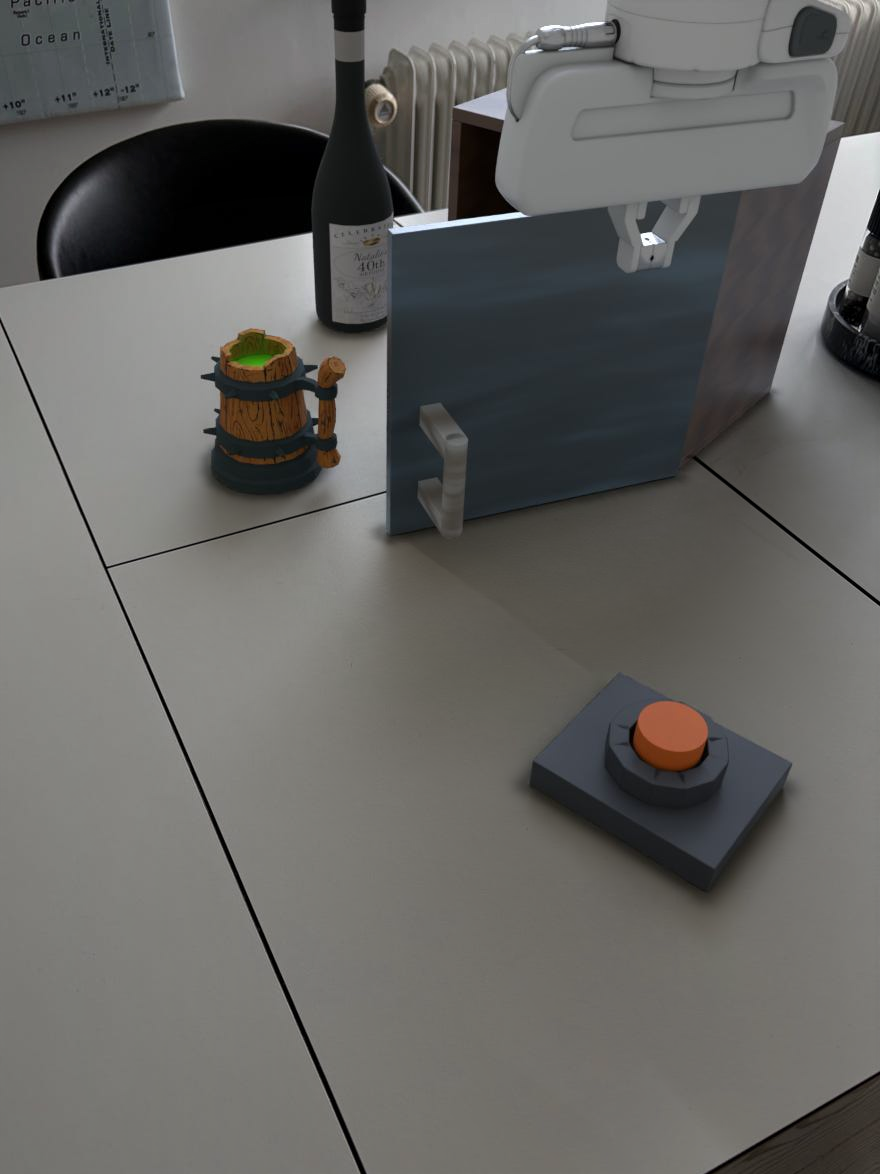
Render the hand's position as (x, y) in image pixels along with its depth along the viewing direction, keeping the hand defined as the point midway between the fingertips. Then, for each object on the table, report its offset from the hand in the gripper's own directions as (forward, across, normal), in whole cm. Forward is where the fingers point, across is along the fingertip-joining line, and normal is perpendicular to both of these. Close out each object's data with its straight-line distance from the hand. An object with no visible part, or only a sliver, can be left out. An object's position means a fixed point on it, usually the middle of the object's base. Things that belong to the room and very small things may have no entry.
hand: (642, 267), depth 65 cm
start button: (+19, -7, -22) cm, 30 cm away
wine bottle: (+23, -5, +44) cm, 50 cm away
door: (+22, -1, +4) cm, 23 cm away
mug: (+23, -20, +19) cm, 36 cm away
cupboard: (+22, +14, +24) cm, 35 cm away
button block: (+23, -7, -22) cm, 32 cm away
